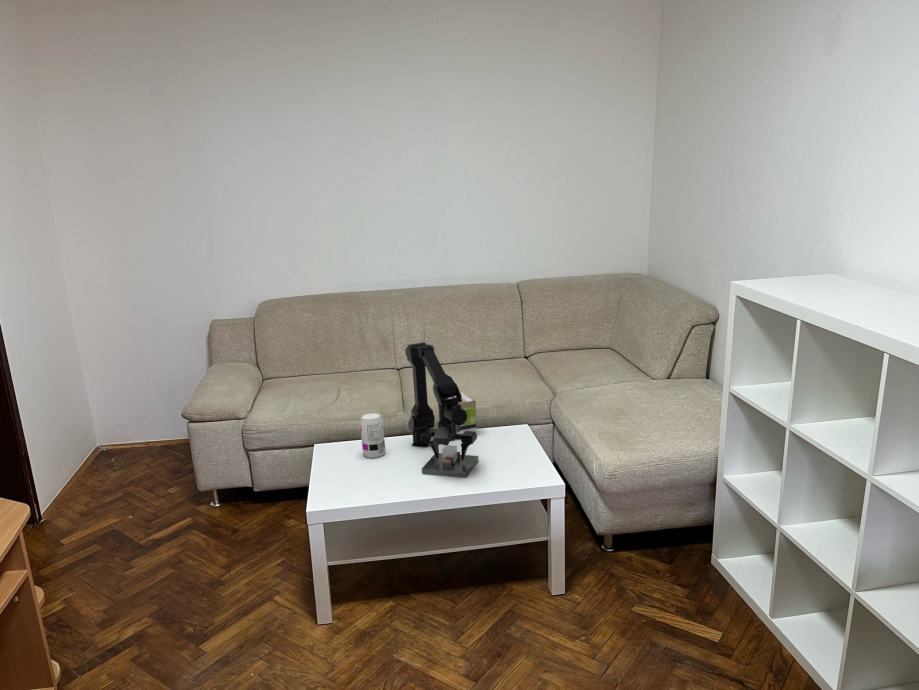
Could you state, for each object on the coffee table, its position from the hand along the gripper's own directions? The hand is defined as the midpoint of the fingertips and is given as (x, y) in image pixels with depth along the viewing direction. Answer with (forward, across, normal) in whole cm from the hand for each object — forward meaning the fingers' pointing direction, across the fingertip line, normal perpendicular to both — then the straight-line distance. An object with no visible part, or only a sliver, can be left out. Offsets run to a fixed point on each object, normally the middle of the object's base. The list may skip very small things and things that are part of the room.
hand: (450, 459), depth 249 cm
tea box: (+3, -8, +33) cm, 34 cm away
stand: (+3, 0, 0) cm, 3 cm away
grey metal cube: (+1, 0, 0) cm, 1 cm away
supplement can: (+3, -32, +6) cm, 33 cm away
